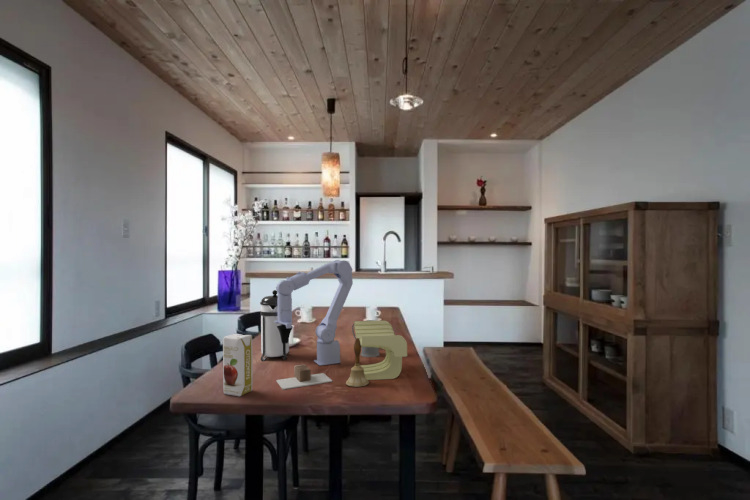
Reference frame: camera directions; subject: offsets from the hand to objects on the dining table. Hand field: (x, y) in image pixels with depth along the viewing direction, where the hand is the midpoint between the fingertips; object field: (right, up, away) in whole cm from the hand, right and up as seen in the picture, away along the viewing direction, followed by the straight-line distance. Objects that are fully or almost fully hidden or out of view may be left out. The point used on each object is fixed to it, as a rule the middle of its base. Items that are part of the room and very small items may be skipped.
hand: (284, 343), depth 161 cm
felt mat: (+11, -10, -17) cm, 23 cm away
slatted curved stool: (+38, -10, -9) cm, 40 cm away
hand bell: (+30, -10, -20) cm, 38 cm away
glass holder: (+32, -10, +21) cm, 40 cm away
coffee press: (-9, -10, +17) cm, 22 cm away
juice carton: (-9, -10, -28) cm, 31 cm away
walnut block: (+8, -7, -12) cm, 17 cm away
